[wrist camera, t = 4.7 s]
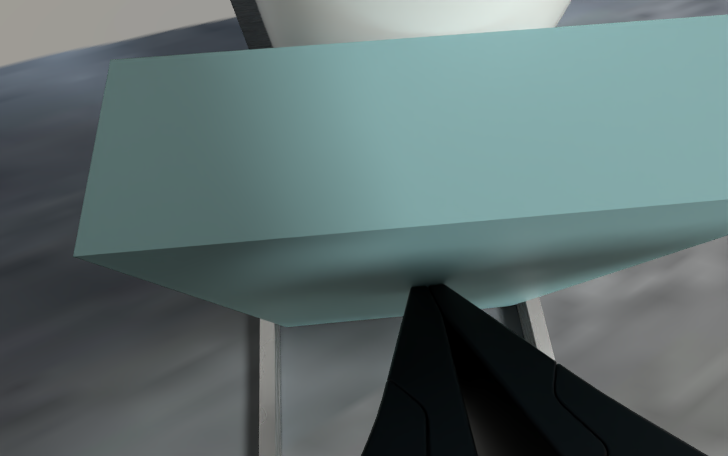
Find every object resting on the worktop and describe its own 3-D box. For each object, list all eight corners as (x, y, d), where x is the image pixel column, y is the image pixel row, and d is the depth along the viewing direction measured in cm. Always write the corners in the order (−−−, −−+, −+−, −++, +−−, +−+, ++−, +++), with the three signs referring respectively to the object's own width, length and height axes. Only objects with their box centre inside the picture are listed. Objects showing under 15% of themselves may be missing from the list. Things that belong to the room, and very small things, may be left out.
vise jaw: (510, 305, 16) (877, 186, 4) (286, 327, 16) (72, 256, 4) (496, 241, 17) (766, 11, 5) (284, 260, 17) (110, 59, 5)
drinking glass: (301, 164, 18) (94, -489, 5) (421, 127, 19) (558, -520, 5) (342, 285, 16) (163, -354, 2) (479, 236, 17) (1017, -451, 3)
